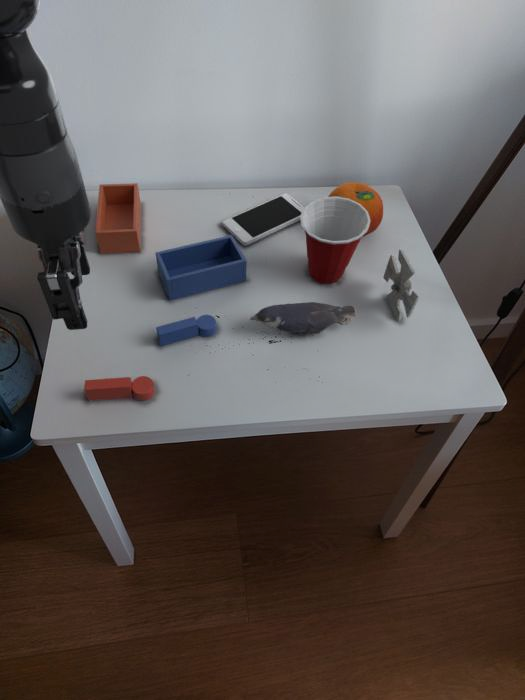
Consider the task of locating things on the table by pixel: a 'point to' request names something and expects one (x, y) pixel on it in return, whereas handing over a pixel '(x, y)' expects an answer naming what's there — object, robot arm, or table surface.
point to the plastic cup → (332, 235)
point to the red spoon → (119, 388)
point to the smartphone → (264, 219)
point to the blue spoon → (186, 329)
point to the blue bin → (201, 267)
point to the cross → (400, 285)
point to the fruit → (363, 201)
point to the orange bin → (118, 218)
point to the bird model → (304, 317)
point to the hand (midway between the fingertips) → (79, 299)
